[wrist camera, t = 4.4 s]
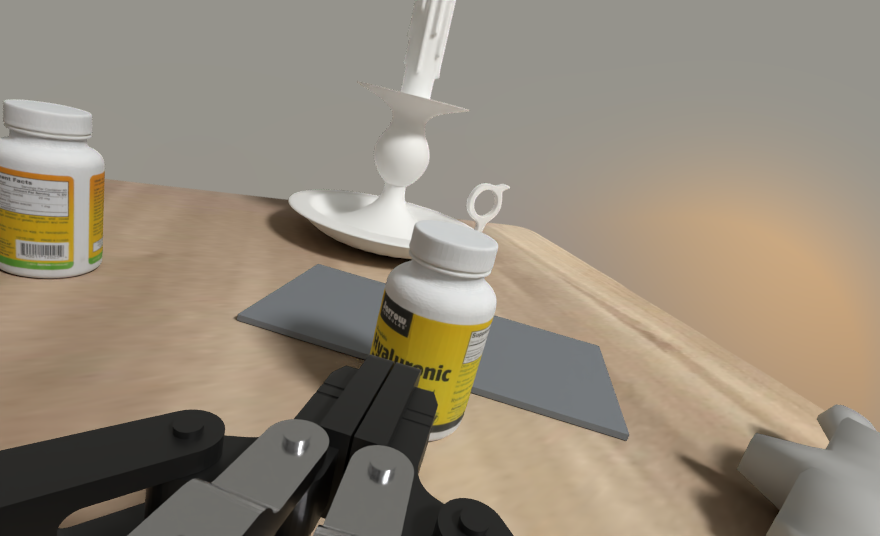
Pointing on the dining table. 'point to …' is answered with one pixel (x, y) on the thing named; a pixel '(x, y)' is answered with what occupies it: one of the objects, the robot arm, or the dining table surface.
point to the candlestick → (398, 153)
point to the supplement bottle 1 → (49, 192)
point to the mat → (502, 362)
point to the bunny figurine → (820, 478)
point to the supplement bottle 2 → (440, 314)
